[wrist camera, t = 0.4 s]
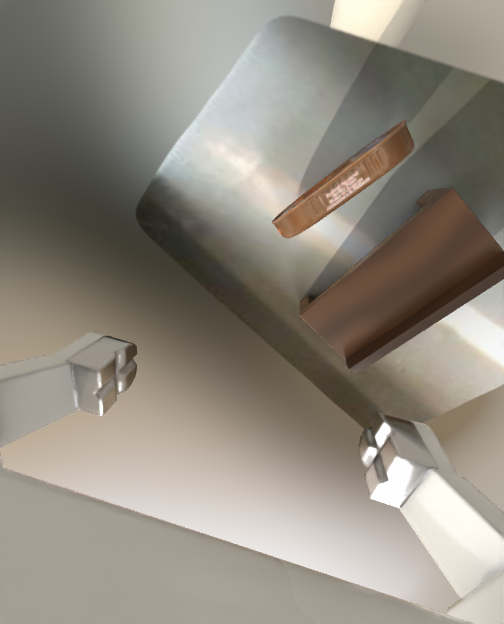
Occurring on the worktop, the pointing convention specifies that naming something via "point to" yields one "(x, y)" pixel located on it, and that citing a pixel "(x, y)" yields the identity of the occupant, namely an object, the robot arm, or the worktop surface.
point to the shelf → (407, 281)
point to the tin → (346, 181)
